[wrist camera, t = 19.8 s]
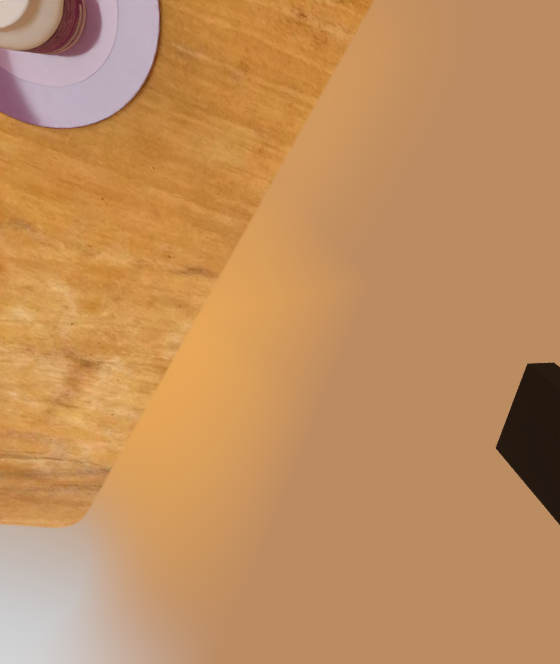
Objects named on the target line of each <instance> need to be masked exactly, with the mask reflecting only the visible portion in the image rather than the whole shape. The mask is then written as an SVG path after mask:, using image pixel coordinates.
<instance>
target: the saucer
mask: <svg viewBox="0 0 560 664" xmlns="http://www.w3.org/2000/svg"><path fill="white" fill-rule="evenodd" d="M84 2H85V11H86V18H85V24H84V28H83V31H82V33H81V36H80V38H79V39H78V40H77V42H76V43H75V44H74V45H73V46H72V47H70V48H69V49H67V50H65V51H63V52H61V53H57V54H38V53H31V52H24V51H15V50H9V49H5V48H1V47H0V112H2V113H4V114H6V115H8V116H10V117H12V118H15V119H17V120H20V121H22V122H25V123H28V124H32V125H36V126H40V127H47V128H55V129H71V128H78V127H85V126H88V125H92V124H95V123H98V122H100V121H102V120H105V119H107V118H109V117H111V116H112V115H114V114H115V113H117V112H118V111H120V110H121V109H123V108H124V107H125V106H126V105H127V104H128V103H129V102H130V101H132V100H133V98H134V97H135V96H136V95H137V93H138V92H139V91H140V90H141V88H142V87H143V85H144V83H145V82H146V80H147V78H148V76H149V74H150V72H151V69H152V67H153V65H154V62H155V58H156V54H157V50H158V45H159V38H160V19H161V16H160V5H159V0H84Z"/></svg>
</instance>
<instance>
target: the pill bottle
mask: <svg viewBox="0 0 560 664" xmlns="http://www.w3.org/2000/svg"><path fill="white" fill-rule="evenodd" d="M85 18H86V11H85V2H84V0H0V47H1V48H5V49H9V50H15V51H24V52H31V53H38V54H57V53H61V52H63V51H65V50H67V49H69V48H70V47H72V46H73V45H74V44H75V43H76V42H77V40H78V39H79V38H80V36H81V33H82V31H83V28H84V24H85Z"/></svg>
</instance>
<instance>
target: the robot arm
mask: <svg viewBox="0 0 560 664" xmlns="http://www.w3.org/2000/svg"><path fill="white" fill-rule="evenodd" d="M496 449H497V450H498V451H499V453H500V454H501V455H502V456H503V457H504V459H505V460H506V461H507V462H508V463H509V465H510V466H511V467H512V468H513V469H514V471H515V472H516V473H517V474H518V475H519V477H521V479H522V480H523V481H524V482H525V484H526V485H527V486H528V487H529V489H530V490H531V491H532V492H533V493H534V495H535V496H536V497H537V498H538V499H539V500H540V501H541V503H542V504H543V505H544V507H545V508H546V509H547V510H548V511H549V512H550V514H551V515H552V516H553V517H554V519H555V520H556V521H557V522H558V523H559V524H560V367H559V366H558V365H556V364H555V363H534V364H533V363H532V364H527V366H526V369H525V372H524V374H523V377H522V380H521V382H520V385H519V388H518V390H517V393H516V395H515V398H514V401H513V404H512V406H511V409H510V412H509V414H508V417H507V419H506V422H505V425H504V427H503V430H502V433H501V435H500V438H499V441H498V443H497V447H496Z"/></svg>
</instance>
